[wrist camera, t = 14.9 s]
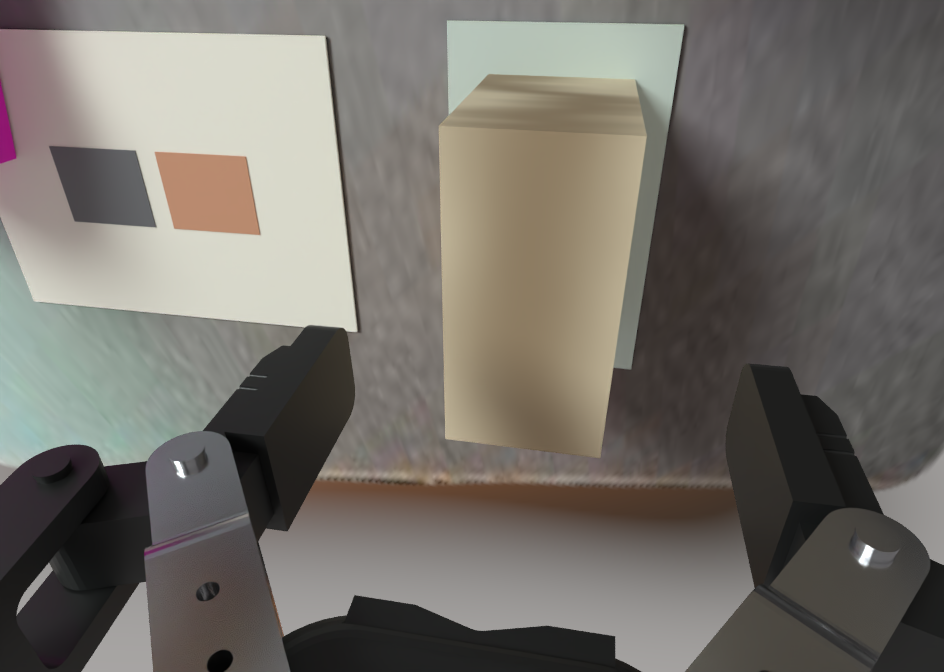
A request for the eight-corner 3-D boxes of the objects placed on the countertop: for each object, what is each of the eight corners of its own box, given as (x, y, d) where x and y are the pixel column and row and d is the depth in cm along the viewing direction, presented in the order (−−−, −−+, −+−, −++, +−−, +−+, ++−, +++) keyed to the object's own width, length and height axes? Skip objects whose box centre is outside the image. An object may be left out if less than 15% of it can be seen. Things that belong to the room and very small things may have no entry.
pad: (447, 20, 20) (447, 20, 19) (684, 24, 18) (684, 24, 18) (453, 350, 26) (453, 352, 26) (630, 368, 25) (630, 369, 25)
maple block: (484, 322, 25) (445, 438, 19) (488, 74, 20) (438, 125, 14) (602, 333, 24) (600, 458, 18) (635, 79, 19) (647, 136, 13)
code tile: (-74, 27, 23) (-78, 27, 23) (325, 35, 20) (323, 36, 20) (36, 300, 28) (33, 301, 28) (357, 331, 26) (356, 332, 26)
